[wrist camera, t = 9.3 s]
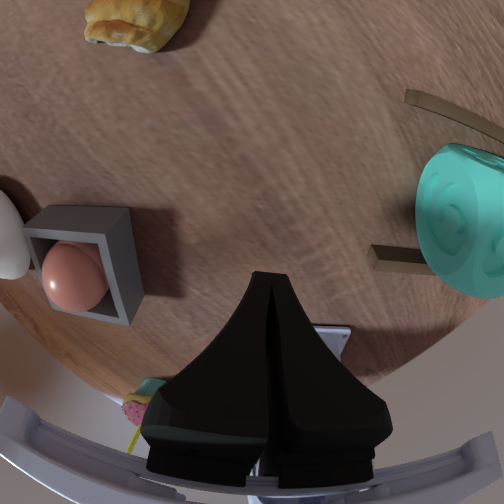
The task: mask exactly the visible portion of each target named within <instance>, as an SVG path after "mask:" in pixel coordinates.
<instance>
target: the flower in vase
mask: <svg viewBox="0 0 504 504" xmlns="http://www.w3.org/2000/svg"><path fill="white" fill-rule="evenodd" d="M22 226H24V223H23V220H22V218H21V216H20V214H19V212H18V211H17V209H16V207H15V206H14V204H13V203H12V202H11V200H10V199H9V198H8V197H7V195H6V194H5V193H4V192H3V191H1V190H0V278H3V279H17V278H19V277H22V276H24V275H25V274H26V273H27V271H28V269H29V266H30V259H31V256H30V253H29V250H28V247H27V244H26V241H25V238H24V235H23V232H22V229H21V227H22Z"/></svg>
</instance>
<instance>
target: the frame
mask: <svg viewBox="0 0 504 504" xmlns="http://www.w3.org/2000/svg"><path fill="white" fill-rule="evenodd" d="M404 103H407V104H410V105H413V106H416V107H419V108H422V109H425V110H428V111H431V112H434V113H436V114H439V115H442V116H444V117H447V118H449V119H452V120H454V121H457V122H459V123H461V124H464V125H466V126H468V127H471V128H473V129H475V130H477V131H479V132H481V133H484V134H486V135H488V136H490V137H492V138H494V139H496V140H498V141H500V142H501V143H503V144H504V129H503V128H501V127H499V126H497V125H496V124H494V123H492V122H490V121H488V120H486V119H484V118H482V117H480V116H478V115H476V114H474V113H472V112H470V111H468V110H466V109H464V108H462V107H459V106H457V105H455V104H452V103H450V102H448V101H445V100H443V99H440V98H438V97H435V96H433V95H430V94H428V93H425V92H422V91H418V90H410V89H406V95H405V102H404ZM367 256H368V258H369V260H370V262H371V264H372V266H373V269H374V271H383V272H396V273H409V274H422V275H436V274H435V273H434V272H433V271H432V269H431V268H430V267H429V265H428V264H427V262H426V260H425V258H424V256H423V254H422V252H421V250H412V249H404V248H395V247H386V246H377V245H371V246H370V249H369V252H368V255H367ZM436 276H437V275H436Z"/></svg>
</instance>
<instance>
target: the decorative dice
mask: <svg viewBox="0 0 504 504" xmlns="http://www.w3.org/2000/svg"><path fill="white" fill-rule="evenodd" d="M415 220H416V231H417V237H418V242H419V245H420V249H421V252H422V254H423V256H424V258H425V260H426V262H427V264H428V265H429V267H430V268H431V269H432V271H433V272H434V273H435V274H436V275H437V276H438V277H439V278H440V279H441V280H443V281H444V282H445V283H447V284H448V285H450V286H451V287H453V288H454V289H456V290H458V291H460V292H462V293H465V294H467V295H470V296H473V297H478V298H496V297H500V296H502V295H504V159H503V158H501V157H498V156H496V155H493V154H491V153H488V152H485V151H482V150H479V149H476V148H473V147H469V146H465V145H460V144H447V145H445V146H444V147H443V148H441V149H440V150H439V151H438V152H437V153H436V154H435V155H434V156H433V157H432V158H431V159H430V161H429V162H428V163H427V165H426V166H425V168H424V170H423V172H422V175H421V177H420V181H419V184H418V189H417V195H416V205H415Z"/></svg>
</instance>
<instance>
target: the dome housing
mask: <svg viewBox="0 0 504 504" xmlns="http://www.w3.org/2000/svg"><path fill="white" fill-rule="evenodd" d="M21 229H22V232H23V235H24V238H25V241H26V244H27V247H28V250H29V253H30V256H31V258H32V261H33V264H34V266H35V269H36V271H37V274H38V276H39V279H40V281H41V284H42V286H43V282H42V266H43V262H44V259H45V257H46V255H47V253H48V252H49V250H50V249H51V248H52V247H53V246H54V245H55V244H56V243H57V242H58V241H59V240H66V241H76V242H87V243H97V244H98V247H99V251H100V255H101V259H102V263H103V266H104V270H105V274H106V277H107V281H108V284H109V289H108V290H107V292H106V294H105V295H104V297H103V298H102V300H101V301H100V302H99V303H98V304H97V305H96V306H94V307H93V308H91V309H89V310H87V311H83V312H70V311H66V310H64V309H62V308H60V307H58V306H57V305H56V304H55V303H53V302H52V300H51V299H50V298H49V297H48V295H47V293H46V291H45V289H44V291H45V293H46V295H47V297H48V300H49V302H50V304H51V306H52V308H53V309H56V310H60V311H64V312H68V313H72V314H76V315H80V316H84V317H88V318H93V319H97V320H102V321H106V322H111V323H116V324H121V325H126V326H130V325H131V323H132V321H133V318H134V316H135V314H136V312H137V310H138V308H139V306H140V304H141V302H142V299H143V297H144V295H145V294H144V289H143V284H142V280H141V275H140V270H139V265H138V259H137V254H136V248H135V243H134V237H133V230H132V224H131V217H130V210H129V208H126V207H100V206H61V205H48V206H47V207H45V208H44V209H43V210H42V211H40V212H39V213H38V214H37V215H35V216H34V217H33V218H32V219H31V220H29V221H28V222H27V223H26V224H25V225H24V226H22V227H21ZM43 288H44V286H43Z"/></svg>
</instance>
